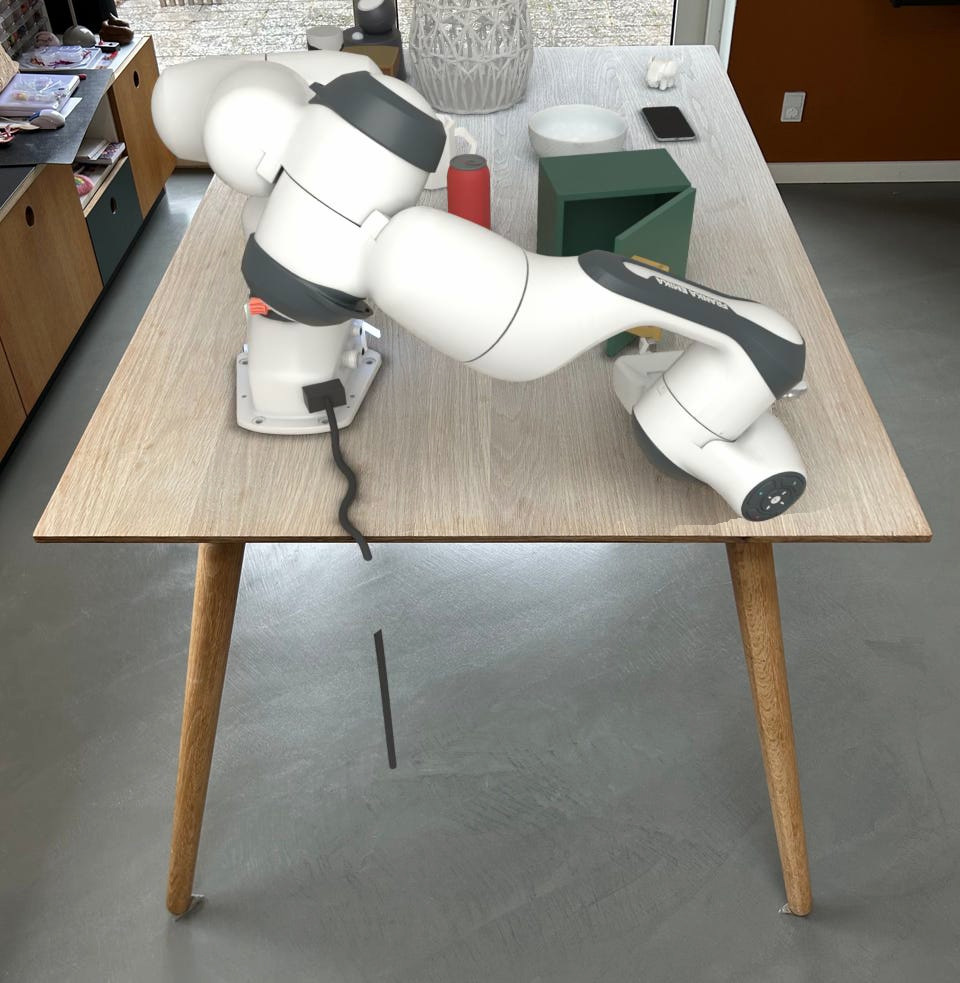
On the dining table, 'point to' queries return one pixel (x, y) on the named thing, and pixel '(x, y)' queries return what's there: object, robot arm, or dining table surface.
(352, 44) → the light fixture
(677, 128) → the smartphone
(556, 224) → the cupboard
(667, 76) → the elephant figurine
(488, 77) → the vase
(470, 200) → the beer can
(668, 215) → the door
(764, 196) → the dining table surface
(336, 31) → the cup
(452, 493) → the dining table surface
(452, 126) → the mug
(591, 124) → the cereal bowl
